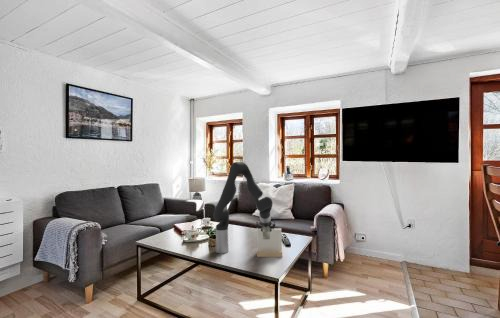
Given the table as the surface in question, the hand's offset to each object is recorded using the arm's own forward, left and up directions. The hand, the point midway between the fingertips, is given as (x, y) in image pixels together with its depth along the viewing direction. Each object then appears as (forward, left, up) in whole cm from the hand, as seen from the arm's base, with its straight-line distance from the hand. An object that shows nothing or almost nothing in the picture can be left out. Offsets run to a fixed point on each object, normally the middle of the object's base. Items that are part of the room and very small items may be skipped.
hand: (266, 230), depth 182 cm
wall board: (+2, +1, -18) cm, 18 cm away
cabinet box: (0, -2, -5) cm, 6 cm away
